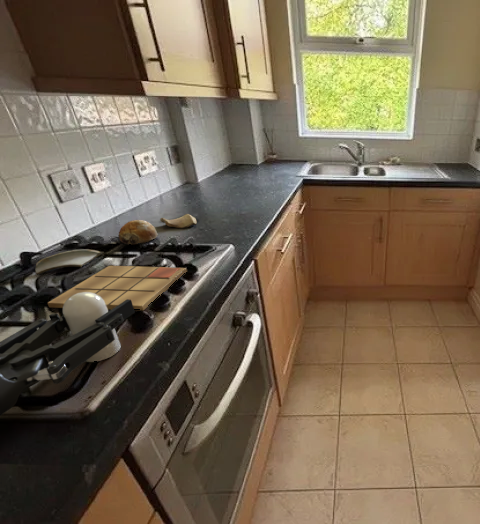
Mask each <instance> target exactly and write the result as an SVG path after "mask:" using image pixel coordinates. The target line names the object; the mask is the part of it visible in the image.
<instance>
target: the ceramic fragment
mask: <svg viewBox="0 0 480 524" xmlns="http://www.w3.org/2000/svg"><path fill="white" fill-rule="evenodd" d="M101 255H102V252H101V251H99V250H95V249H73V250H68V251H63V252H59V253H55V254H53V255H49V256H47V257H44V258H42V259H40V260H39V261H37V262H36V263H35V269H34V272H35V274H36V275H41V274H43V273H45V272H46V273H47V272H49V271H51V270H56V269H61V268H70V267H71V268H73V267H74V268H83V267H84V266H85V265H87V264H88V263H90V262H92V261H93V260H94V259H97V258H98V257H100V256H101ZM83 265H84V266H83ZM82 266H83V267H82Z"/></svg>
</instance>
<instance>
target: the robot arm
mask: <svg viewBox="0 0 480 524" xmlns="http://www.w3.org/2000/svg"><path fill="white" fill-rule="evenodd" d="M135 313H136V310H134V308H133V305H132V301H131V300H129V299H127V300H125V301H124V302H122V303H121V304H119V305H118V306H116V307H115V308H113V309H109V310H108V312H107V313H105V314H104V315H102V316H101V317H99V318H98V319H96V320H95V321H96V324H94V325H92V326H90V327H88V328H86V329H84V330H82V331H80V332H78V333H76V334H74V335H72V334H71V335H70V336H68V337H66V338H64V339H62V340H60V341H57V342H56V343H53V342H55V340H56V339H57V338H58V337H60V336H61V335H62V334H63V333H64V332H65V331H66V330H67V331H70V328H69V326H68V324H67V322H66V319H65V317H64V315H63V314H62V315H61V316H60V315H59V313H57V312H55V313H51V314H48V317H49V320H47V319H46V318H39V319H37V320H35V321H34V322H32V323H30V324H28V325H26V326H25V327H23V328H21V329H20V330H18V331H16V332H14V333H12V334H11V335H9V336H8V337H6V338H5V339H4V338H3V340H1V341H0V417H1V416H2V415H4V414H5V413H7V412H8V411H9V410H11V409H12V408H13V407H15V405H16V404H17V402H18V399H19V397H20V395H21V393H22V392H23V391H25V390H26V389H28V388H30V387H32V386H34V385H36V384H38V383H39V382H41V381H46V380H47V381H48V380H51V382H52V383H53V384H55V385H56V384H57V385H58V384H60V383H62V382H64V381H65V380H66V379H67V378H68V376H69V375H70V374H71V373H72V372H73V371H74V370H76V369H77V368H78V367H80V366H81V365H82V364H84V363H85V362H87V361H86V360H88V359H89V358H91V357H92V356H93V355H95V354H96V353H97V352H99V351H100V350H102V349H103V348H104V347H106V346H107V345H108V344H110V343H111V342H112V341H114V340H115V338H114V335H113V332H112V330H113V329H114V328H115V329H116V328H117V327H119V326H120V325H122V324H123V323H124V321H125V320H127V319H128V318H130V317H131V316H132V315H134V314H135ZM65 328H66V329H65ZM52 343H53V344H52ZM51 344H52V345H51Z"/></svg>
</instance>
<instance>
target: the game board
mask: <svg viewBox="0 0 480 524" xmlns="http://www.w3.org/2000/svg"><path fill="white" fill-rule="evenodd" d="M186 272H187V273H188V269H187V267H167V266H166V267H164V266H138V265H134V266H133V265H108V266H106V267H104V268H103V269H101V270H100V271H97V272H96V273H95V274H93V275H91V276H90V277H88V278H86V279H85V280H83V281H81V282H79V283H77V284H76V285H75V286H73V287H72V288H69V289H68V290H66V291H64V292H63V293H61V294H59V295H58V296H57V297H55V298H53V299H51V300H50V301H47V305H48V308H51V309H63V305H64V303H65V302H66V300H67V299H68V298H69V297H71V296H72V295H74V294H77V293H81V292H91V293H95V294H97V295H99V296H100V297H102V298H103V300H104V301H105V304H106V306H107V309H108V310H112V309H113V308H115V307H116V306H118V305H119V304H121V303H122V302H124V301H125V300H127V299H129V300H131V301H132V305H133V308H134V309H140V310H139V311H145V310H146V309H147V308H148V307H149V306H150V305H151V304H152V303H151V302H153V301H154V300H155V299H156V298H157V297H158V296H159V295H160V296H162V295H163V294H164V293H165V292H166V291H168V290H169V289H170V288H171V287H172V286H173V285H174V284H175V283H176V282H177V281H179V280H180V279H181V278H182V277H183V276H184V275H185V274H187V273H186ZM184 273H185V274H184ZM183 274H184V275H183ZM182 275H183V276H182ZM181 276H182V277H181ZM180 277H181V278H180ZM179 278H180V279H179ZM178 279H179V280H178ZM176 280H177V281H176ZM175 281H176V282H175ZM174 282H175V283H174ZM173 283H174V284H173ZM172 284H173V285H172ZM171 285H172V286H171ZM170 286H171V287H170ZM169 287H170V288H169ZM163 292H164V293H163ZM162 293H163V294H162ZM161 294H162V295H161ZM160 296H159V297H160ZM159 297H158V298H159ZM158 298H157V299H158ZM157 299H156V300H157ZM156 300H155V301H156ZM155 301H154V302H155ZM154 302H153V303H154ZM150 303H151V304H150ZM149 304H150V305H149ZM148 305H149V306H148Z"/></svg>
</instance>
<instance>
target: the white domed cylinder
mask: <svg viewBox="0 0 480 524" xmlns="http://www.w3.org/2000/svg"><path fill="white" fill-rule="evenodd" d="M107 312H109V309H107V306H106V304H105V301H104V300H103V298H102V297H100V296H99V295H97V294H95V293H91V292H81V293H77V294H74V295H72V296H71V297H69V298H68V299H67V300H66V302H65V303H64V305H63V308H62V316H63V315H64V317H65V319H66V322H67V324H68V326H69V328H70V330H69V331H70V333H71V336H72V335H74V334H76V333H78V332H80V331H82V330H84V329H86V328H88V327H90V326H92V325H94V324H96V321H95V320H96V319H98V318H99V317H101V316H102V315H104V314H105V313H107ZM112 332H113V335H114V338H115V340H114V341H112V342H111V343H110V344H108V345H107V346H106V347H104V348H103V349H102V350H100V351H99V352H97V353H96V354H95V355H93V356H92V357H91V358H89V359H88V360H86V361H85V362H87V363H95V362H94V361H97V362H101V361H105V360H107V359H108V358H109V359H110V358H111V357H113V356H114V355H116V354H117V353H118V352H119V351H120V350H121V348H122V345H121V342H120V339H119V336H118V334H117V331H116V328H114V329H113V330H112Z"/></svg>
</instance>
